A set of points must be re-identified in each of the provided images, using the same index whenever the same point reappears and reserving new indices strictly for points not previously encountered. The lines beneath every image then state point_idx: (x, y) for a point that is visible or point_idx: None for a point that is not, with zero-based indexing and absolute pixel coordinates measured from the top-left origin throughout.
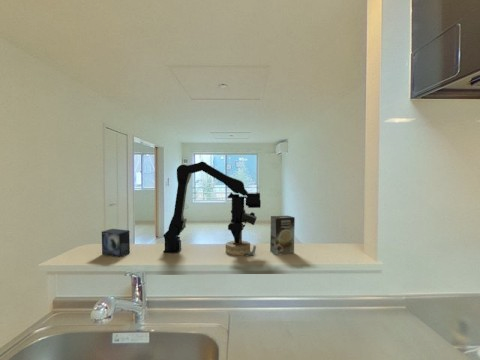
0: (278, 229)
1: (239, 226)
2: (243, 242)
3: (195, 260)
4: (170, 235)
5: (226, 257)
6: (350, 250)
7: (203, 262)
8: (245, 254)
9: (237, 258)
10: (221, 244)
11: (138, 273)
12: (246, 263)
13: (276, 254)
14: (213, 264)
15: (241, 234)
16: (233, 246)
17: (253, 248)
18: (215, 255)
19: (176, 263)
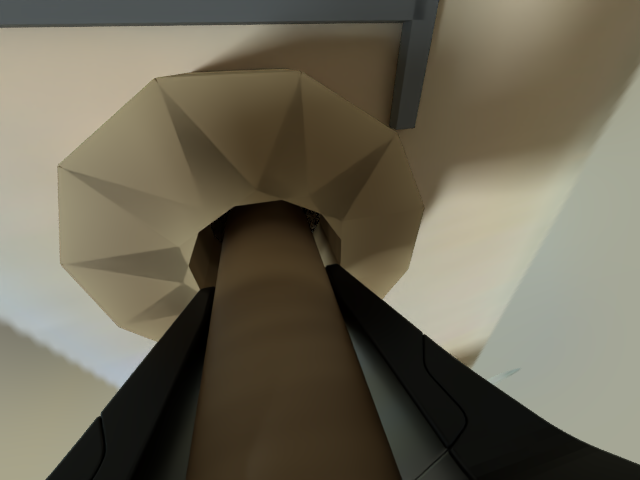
0: None
1: None
2: (180, 221)
3: (452, 332)
4: None
5: (433, 243)
6: None
7: (486, 301)
8: (417, 107)
9: (471, 166)
10: (123, 371)
11: (517, 368)
12: (623, 51)
13: None
14: (529, 259)
15: (304, 362)
16: (401, 267)
17: (98, 10)
18: (389, 304)
19: (469, 354)
